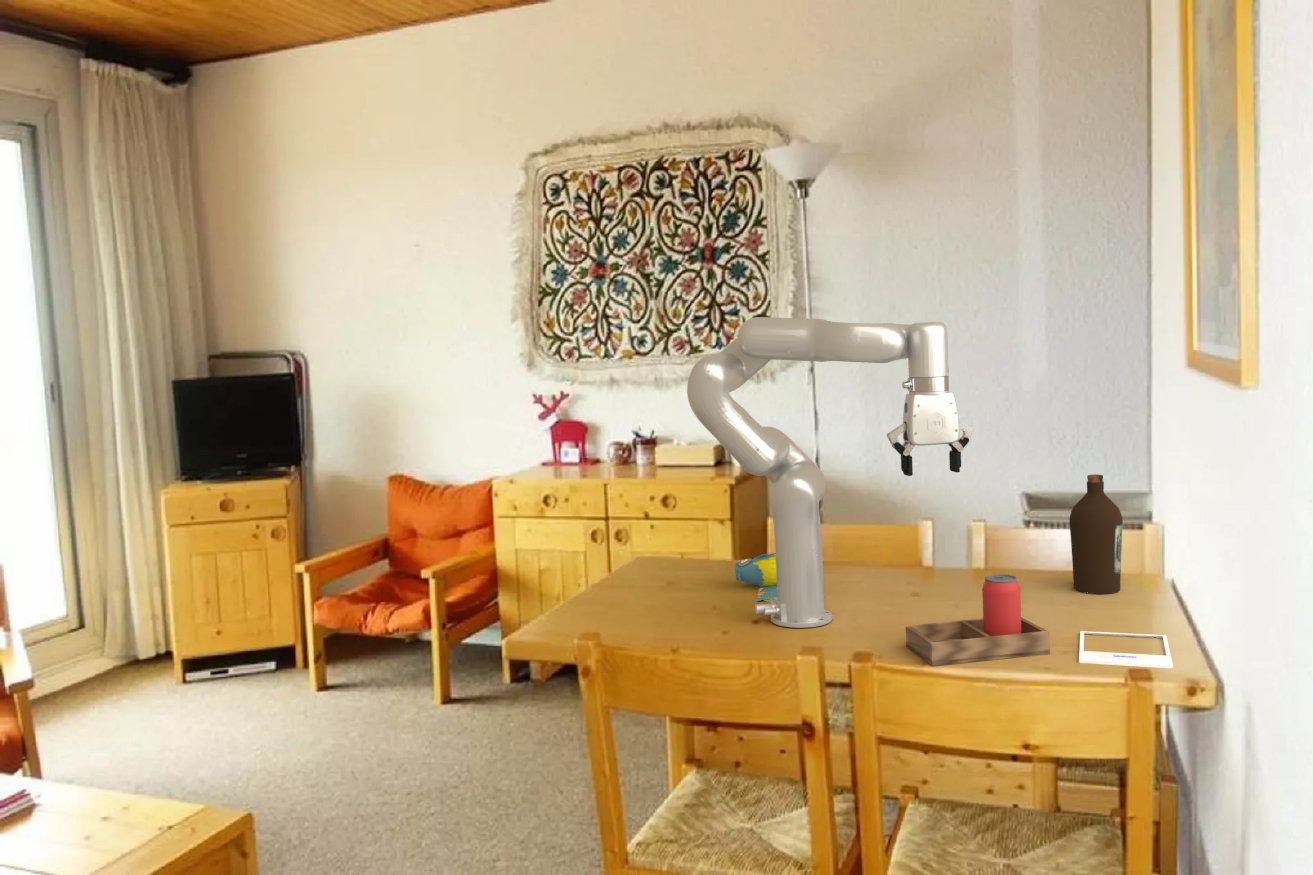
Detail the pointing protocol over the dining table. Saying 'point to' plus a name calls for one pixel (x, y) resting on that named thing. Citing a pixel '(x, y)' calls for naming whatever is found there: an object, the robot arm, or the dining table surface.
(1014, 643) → the crate
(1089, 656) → the photo frame
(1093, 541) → the olive oil
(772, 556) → the fish figurine
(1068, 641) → the dining table surface
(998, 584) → the beer can
